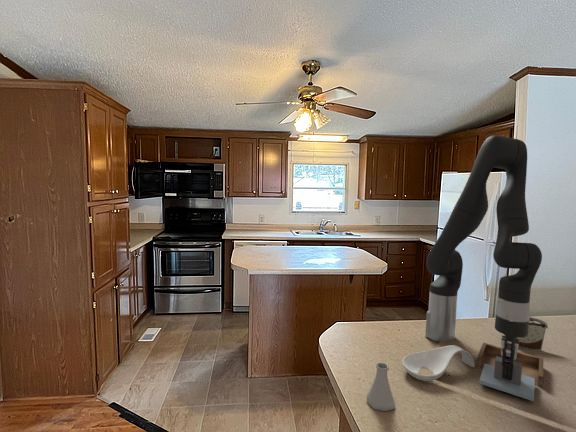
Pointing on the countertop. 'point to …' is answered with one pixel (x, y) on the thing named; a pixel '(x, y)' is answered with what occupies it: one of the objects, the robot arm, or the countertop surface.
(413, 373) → the spoon rest
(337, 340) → the countertop surface
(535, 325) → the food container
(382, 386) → the flask
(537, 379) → the open-fronted box
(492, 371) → the cover plate
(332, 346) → the countertop surface
